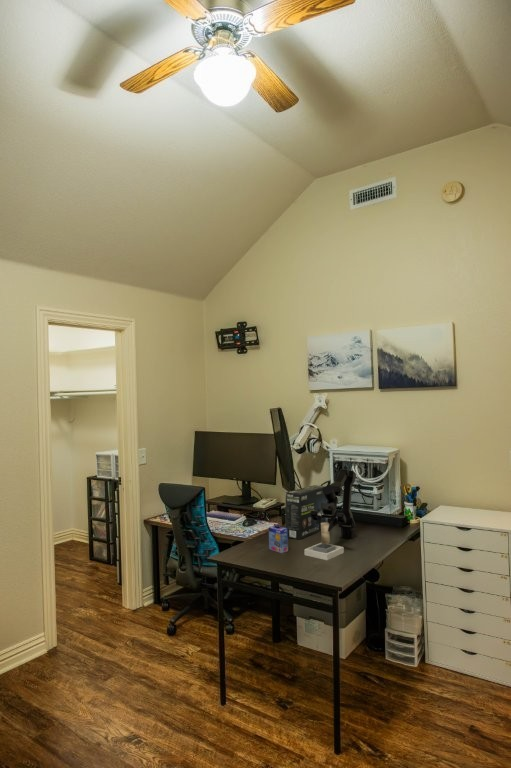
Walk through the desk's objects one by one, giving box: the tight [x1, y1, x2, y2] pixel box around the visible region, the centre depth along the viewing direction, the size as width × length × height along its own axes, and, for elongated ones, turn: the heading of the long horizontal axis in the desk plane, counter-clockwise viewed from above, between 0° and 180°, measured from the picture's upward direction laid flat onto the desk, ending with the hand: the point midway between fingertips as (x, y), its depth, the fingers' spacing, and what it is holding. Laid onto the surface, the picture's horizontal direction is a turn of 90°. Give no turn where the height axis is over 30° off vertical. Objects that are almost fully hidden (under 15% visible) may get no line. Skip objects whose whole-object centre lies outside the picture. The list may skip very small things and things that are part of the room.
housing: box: [304, 542, 345, 561], centre depth 252 cm, size 14×16×4 cm
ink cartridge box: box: [268, 523, 289, 554], centre depth 260 cm, size 10×6×14 cm, turn 45°
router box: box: [284, 484, 329, 540], centre depth 297 cm, size 36×11×27 cm, turn 144°
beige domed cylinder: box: [320, 522, 331, 544], centre depth 252 cm, size 4×4×10 cm
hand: (324, 530), depth 251 cm, fingers closed on beige domed cylinder, 4 cm apart
